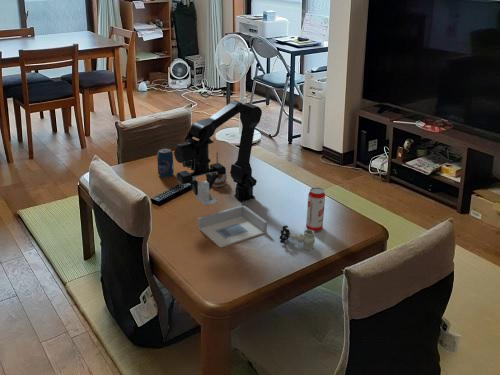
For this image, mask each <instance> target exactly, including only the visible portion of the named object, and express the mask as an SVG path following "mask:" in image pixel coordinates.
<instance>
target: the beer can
mask: <svg viewBox="0 0 500 375" xmlns="http://www.w3.org/2000/svg"><path fill="white" fill-rule="evenodd" d="M309 189H310V190H309V192H308V196H307V206H306V207H307V210H306V224H305V228H306V230H313V231H314V233H318V232H320V231H322V229H323V227H324V216H325V203H326V202H325V201H326V193H325V189H324V188H321V187H311V188H309Z"/></svg>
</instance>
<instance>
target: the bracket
mask: <svg viewBox="0 0 500 375" xmlns="http://www.w3.org/2000/svg"><path fill="white" fill-rule="evenodd" d="M194 198H195V199H196V200H197V201H198V202H200V203H201V204H203V205H204V206H209V205H212V204H215V203H217V202H218V200H217V198H216V197H215V196H213V195H212V194H211V193H210V191H209V182H207V181H206V180H203V181H200V182H199V181H198V190H197V195H195V194H194Z"/></svg>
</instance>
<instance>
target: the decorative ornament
mask: <svg viewBox="0 0 500 375" xmlns="http://www.w3.org/2000/svg"><path fill="white" fill-rule="evenodd" d="M215 154H216V157H215V158H216V163H219V152H218V151H216V153H215ZM217 175H218V176H219V177H218V178H217V179H216V180H215V182H214V183H213V185H212V187H217V188H218V187H224V186H225V185H227V179H228V174H227V172H226V174H223V175H219V174H217Z"/></svg>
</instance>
